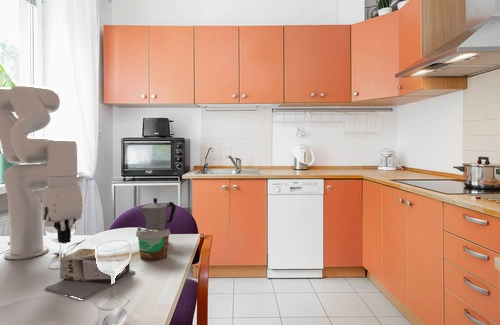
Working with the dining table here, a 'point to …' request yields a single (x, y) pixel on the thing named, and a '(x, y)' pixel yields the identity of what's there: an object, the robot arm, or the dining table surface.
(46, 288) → the mat
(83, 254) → the coffee box
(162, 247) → the food container
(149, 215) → the coffeepot
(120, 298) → the dining table surface
